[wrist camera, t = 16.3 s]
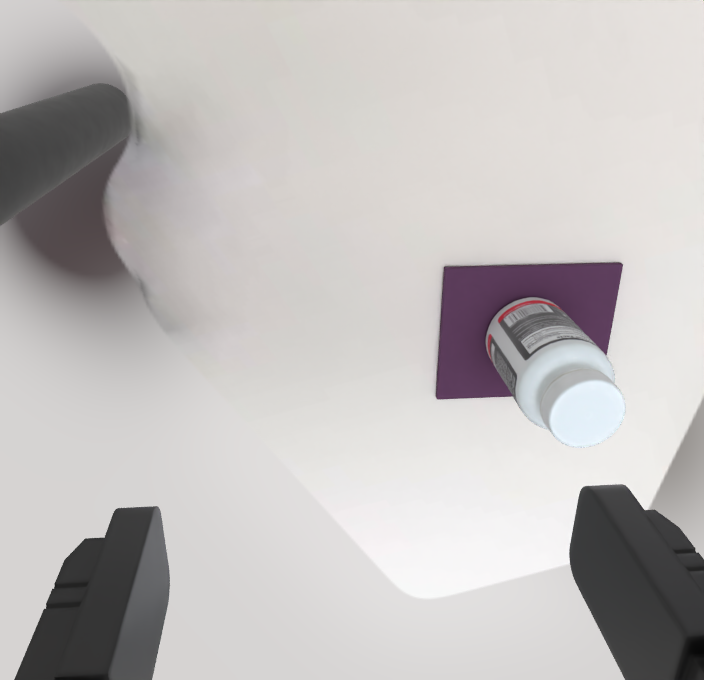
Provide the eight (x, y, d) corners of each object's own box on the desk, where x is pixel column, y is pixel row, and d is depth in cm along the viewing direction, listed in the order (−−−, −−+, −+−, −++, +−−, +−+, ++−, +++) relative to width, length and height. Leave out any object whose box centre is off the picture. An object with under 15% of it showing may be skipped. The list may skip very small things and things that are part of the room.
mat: (435, 396, 45) (436, 399, 44) (443, 266, 41) (445, 268, 40) (597, 390, 45) (599, 393, 45) (620, 262, 42) (623, 264, 41)
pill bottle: (546, 380, 44) (610, 469, 35) (471, 361, 43) (517, 448, 34) (581, 306, 42) (659, 381, 33) (503, 284, 41) (562, 356, 32)
